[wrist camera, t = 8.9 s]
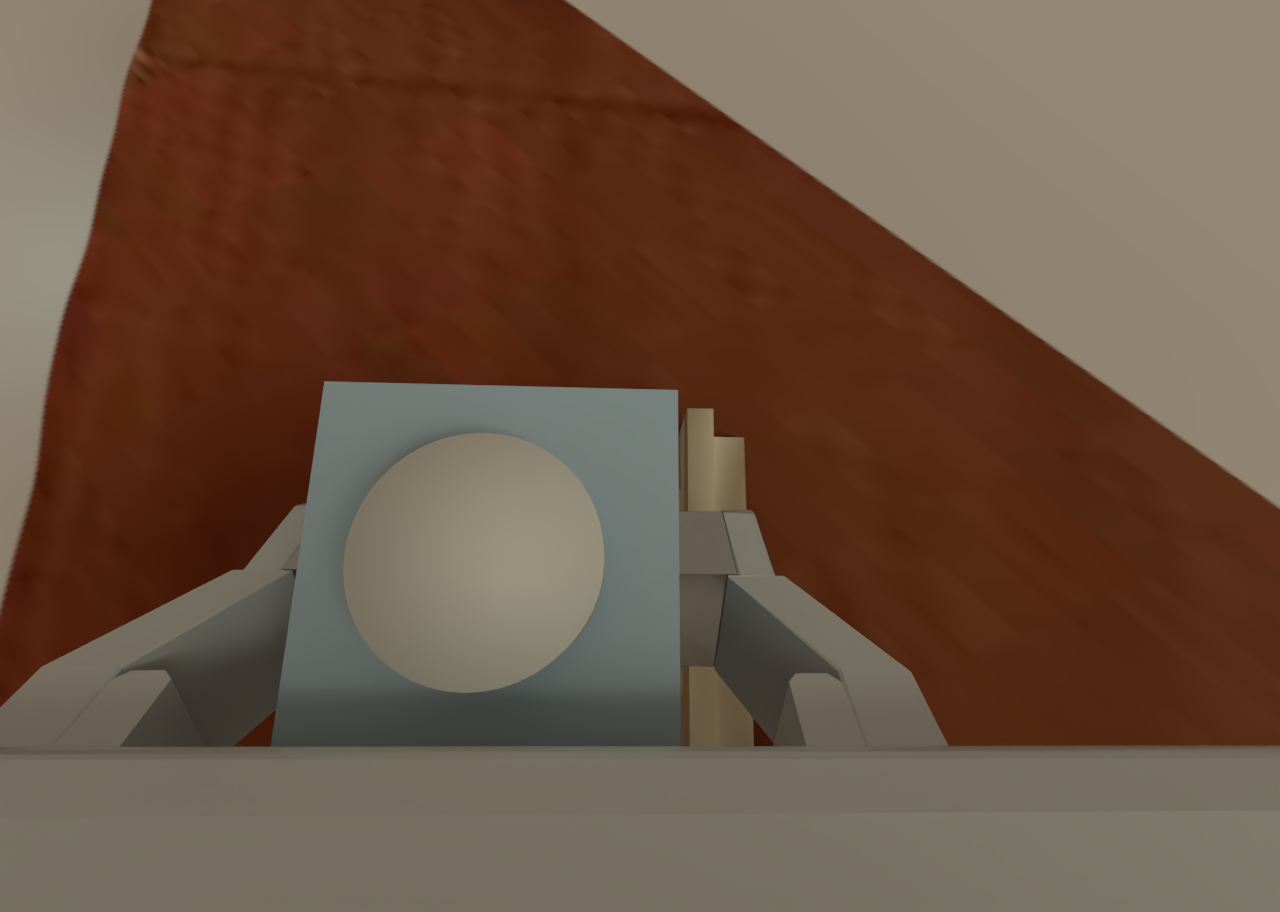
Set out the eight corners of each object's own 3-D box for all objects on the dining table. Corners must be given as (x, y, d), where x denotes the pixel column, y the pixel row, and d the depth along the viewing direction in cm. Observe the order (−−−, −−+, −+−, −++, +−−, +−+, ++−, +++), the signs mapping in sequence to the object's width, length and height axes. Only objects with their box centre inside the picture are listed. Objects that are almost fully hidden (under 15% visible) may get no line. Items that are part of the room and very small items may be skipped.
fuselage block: (638, 519, 17) (686, 362, 6) (636, 674, 16) (690, 791, 5) (490, 517, 17) (288, 351, 6) (479, 673, 16) (215, 794, 5)
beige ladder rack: (740, 442, 34) (762, 410, 28) (750, 762, 29) (778, 792, 24) (483, 437, 33) (458, 403, 28) (456, 760, 29) (421, 790, 24)
